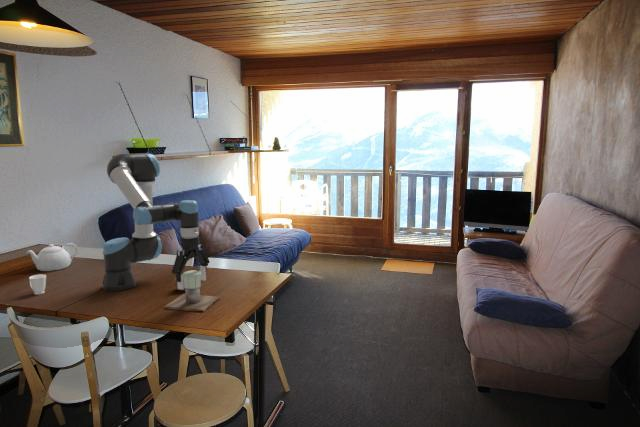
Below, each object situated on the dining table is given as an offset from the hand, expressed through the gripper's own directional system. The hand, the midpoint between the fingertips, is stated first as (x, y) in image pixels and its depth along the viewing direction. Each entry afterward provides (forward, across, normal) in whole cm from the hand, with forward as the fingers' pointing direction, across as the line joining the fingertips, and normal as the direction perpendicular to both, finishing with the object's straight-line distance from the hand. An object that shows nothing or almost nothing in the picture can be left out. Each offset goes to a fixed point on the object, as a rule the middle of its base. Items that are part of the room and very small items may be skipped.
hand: (192, 284), depth 191 cm
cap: (+1, 0, 0) cm, 1 cm away
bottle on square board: (+9, 0, 0) cm, 9 cm away
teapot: (+9, +7, +111) cm, 111 cm away
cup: (+9, -23, +76) cm, 79 cm away
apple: (+9, +12, +18) cm, 23 cm away
